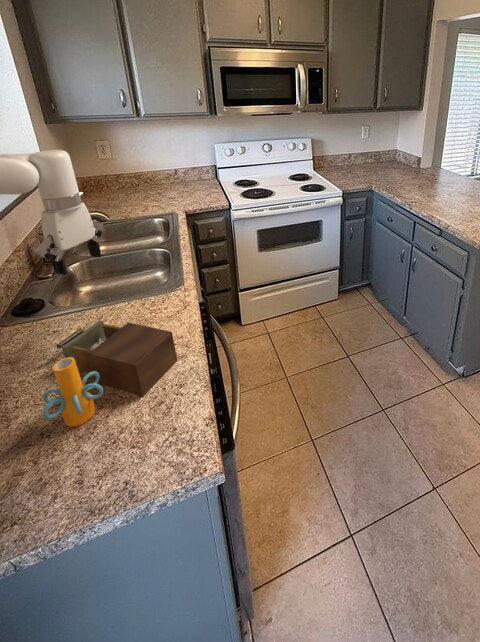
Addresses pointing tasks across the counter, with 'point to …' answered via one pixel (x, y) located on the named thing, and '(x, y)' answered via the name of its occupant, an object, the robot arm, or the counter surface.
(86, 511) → the counter surface
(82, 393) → the yellow vase with loops
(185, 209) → the counter surface
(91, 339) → the drawer
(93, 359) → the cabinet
